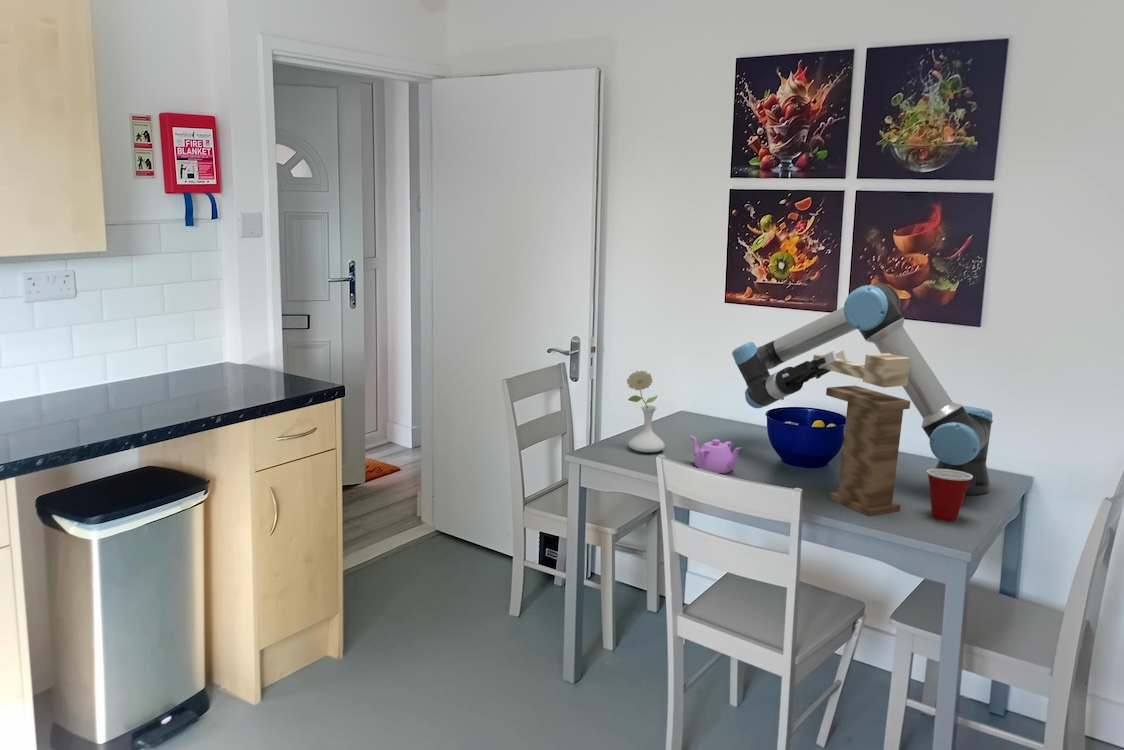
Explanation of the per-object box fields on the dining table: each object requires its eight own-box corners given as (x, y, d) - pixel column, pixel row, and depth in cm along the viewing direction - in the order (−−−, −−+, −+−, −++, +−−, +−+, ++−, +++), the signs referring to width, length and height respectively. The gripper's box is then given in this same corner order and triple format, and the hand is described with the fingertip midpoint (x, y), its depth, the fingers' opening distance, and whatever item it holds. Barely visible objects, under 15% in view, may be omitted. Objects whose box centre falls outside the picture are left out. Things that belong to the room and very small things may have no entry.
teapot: (739, 476, 250) (742, 446, 248) (690, 474, 250) (693, 444, 248) (734, 464, 261) (736, 435, 260) (687, 461, 262) (689, 433, 260)
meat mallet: (907, 385, 220) (910, 358, 219) (883, 387, 217) (887, 359, 216) (827, 364, 245) (830, 339, 243) (805, 366, 241) (808, 340, 240)
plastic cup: (954, 510, 229) (960, 466, 226) (975, 525, 218) (981, 479, 216) (913, 509, 228) (919, 465, 226) (932, 524, 218) (938, 478, 215)
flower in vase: (667, 447, 276) (672, 369, 271) (661, 457, 265) (667, 376, 260) (626, 442, 279) (630, 365, 274) (619, 452, 268) (623, 372, 263)
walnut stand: (900, 510, 227) (913, 401, 221) (868, 516, 222) (881, 404, 216) (844, 487, 244) (856, 385, 238) (814, 491, 239) (825, 387, 233)
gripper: (809, 393, 258) (866, 367, 238) (766, 396, 251) (820, 370, 230) (803, 369, 260) (858, 341, 240) (759, 371, 253) (813, 343, 232)
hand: (839, 355), depth 235 cm, fingers closed on meat mallet, 3 cm apart
